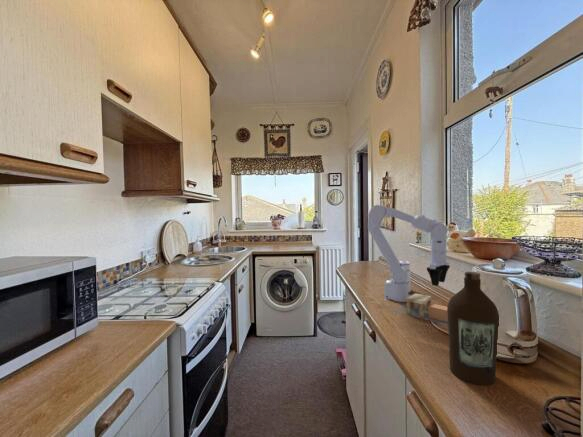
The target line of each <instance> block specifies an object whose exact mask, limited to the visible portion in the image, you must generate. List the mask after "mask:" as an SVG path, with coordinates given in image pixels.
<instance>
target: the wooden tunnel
mask: <svg viewBox="0 0 583 437" xmlns="http://www.w3.org/2000/svg"><path fill="white" fill-rule="evenodd" d="M405 303H406V304H405V305H406V306H405V307H406V308H405V309H406V310H405V311H406V312H405V313H406V314H409V315H410V314H411V309H412V303H413V307H414V309H418V308H420V317H421V318H424V310H425V304H426V310H427V312H428V306H430V305H431V304H432V296H430V295H426V294H420V293H416V292H415V293H413V294H411V295H410V296H409V295H408V298H406V302H405ZM406 314H405V315H406ZM409 315H408V316H409ZM421 318H420V319H421Z"/></svg>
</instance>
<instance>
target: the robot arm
mask: <svg viewBox="0 0 583 437" xmlns="http://www.w3.org/2000/svg"><path fill="white" fill-rule="evenodd" d="M392 217H393V218H395V219H399V220H401V221H403V222H404V221H405V222H408V223H410V224H411V225H412V227H413V228H414V229H416V230H419V231H422V232H425V233H427V234H429V233H431V240H430V261H429V266H428V267H426V271H427V273H428V275H429V277H430V281H431V285H432V286H437V287H438V286H439V284H440V283H445V282H446V277H447V273H448V270H450V268H451V266H450V262H447V234H448V231H449V230H448V228H447V226H446V225H445V224H444V223H442V222H440V221H437V219H431V218H429V217H426V216H425V215H424V214H421V215H420V214H417V215H415V216H413V215H411V214H409V213H406V212H403V211H401V210H399V209H396V208H393V207H388V206H383V205H380V204H376V205H373V206H372V207H371V208H370V210H369V212H368V218H367V219H368V220H367V230H368V231H369V234H370V235H371V237H372V238H373V240H374V242H375V244H376V245H377V247H378V249H379V252H380V253H381V254H382V256H383V258H384V260H385V261H386V264H387V266H388V269H389V271H390V273H391V278H390V279H387V280H385V283H384V299H383V301H386V300H392V301H395V302H402V303H403V302H405V303H406V298H408V297H409V292H408V280H407V269H406V268H405V267H404V266H403V265H402V264H401V263H400V261H401V260H399V259H398V257H397V255H396V253H395V252H394V250H393V248H392V246H391V245H390V243H389V242H388V239H387V238H386V236H385V234H384V233H383V232H382V229H381V228H380V227H381V224H382V221H383V220H384V218H392Z"/></svg>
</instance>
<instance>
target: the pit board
mask: <svg viewBox="0 0 583 437" xmlns="http://www.w3.org/2000/svg"><path fill="white" fill-rule="evenodd" d="M403 307H406V304H402V305H401V306H399V307H397V308H396V309H394V310H393V312H395V313H398V314H402V315H407V316H409V317H414V318H418V319H421V320H426V321H429V322H432V323H437V324H441V325H444V326H448V322H446V321H442V320H438V319H434V318H430V317H428V312H427V309H424V318H421V317H420V307H418V309H414V306H411V314H410V315H409V314H406V312H401V311H398V310H399V309H400V310H403V311H406V308H403Z"/></svg>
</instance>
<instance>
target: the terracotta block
mask: <svg viewBox="0 0 583 437" xmlns="http://www.w3.org/2000/svg"><path fill="white" fill-rule="evenodd" d="M447 307H448V306H445V305H441V304H436V303H431V305H430V306H428V317H430V318H434V319H438V320H442V321H446V322H448V315H447Z"/></svg>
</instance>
